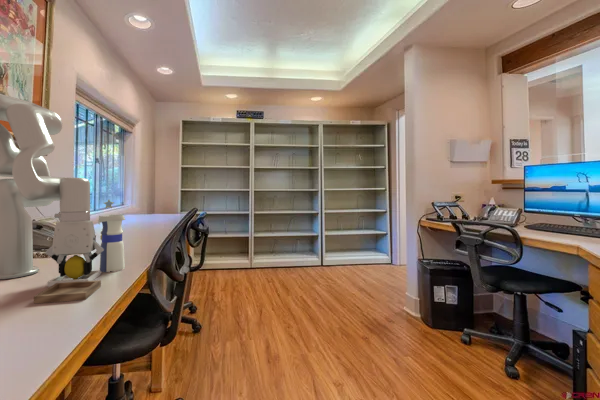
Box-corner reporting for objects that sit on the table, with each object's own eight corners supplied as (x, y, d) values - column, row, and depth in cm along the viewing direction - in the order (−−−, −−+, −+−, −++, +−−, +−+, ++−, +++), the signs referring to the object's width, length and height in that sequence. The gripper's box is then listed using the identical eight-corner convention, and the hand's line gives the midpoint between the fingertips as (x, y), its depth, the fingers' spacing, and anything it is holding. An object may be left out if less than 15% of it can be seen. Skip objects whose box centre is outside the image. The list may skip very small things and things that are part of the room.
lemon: (74, 283, 88) (74, 257, 88) (59, 282, 90) (59, 256, 89) (91, 278, 94) (91, 253, 94) (76, 277, 95) (76, 252, 95)
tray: (33, 303, 73) (33, 296, 73) (56, 289, 83) (56, 283, 83) (85, 299, 76) (85, 292, 76) (100, 286, 86) (100, 280, 86)
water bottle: (91, 271, 102) (90, 199, 101) (113, 265, 110) (113, 199, 109) (109, 273, 100) (109, 200, 99) (130, 267, 108) (130, 199, 107)
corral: (47, 286, 85) (47, 281, 85) (64, 276, 95) (64, 272, 95) (88, 283, 88) (88, 279, 88) (100, 274, 98) (100, 270, 98)
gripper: (34, 218, 85) (35, 280, 86) (102, 218, 90) (103, 276, 91) (48, 216, 92) (49, 273, 93) (110, 215, 97) (110, 269, 98)
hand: (75, 274), depth 92 cm, fingers closed on lemon, 5 cm apart
